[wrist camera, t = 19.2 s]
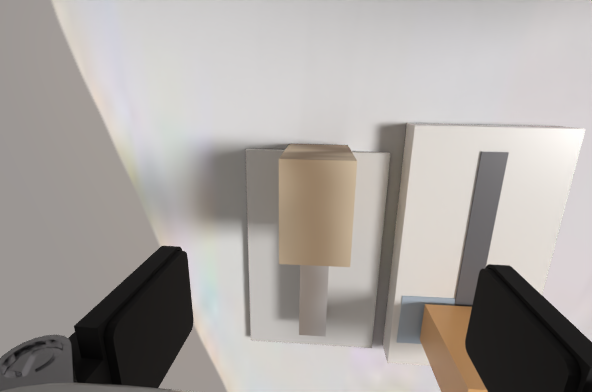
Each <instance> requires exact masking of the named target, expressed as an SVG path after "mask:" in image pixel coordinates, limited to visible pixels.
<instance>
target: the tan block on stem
mask: <svg viewBox="0 0 592 392" xmlns="http://www.w3.org/2000/svg"><path fill="white" fill-rule="evenodd" d="M356 172H357V160H356V158H355V156H354V155H353V153H352V152H351V150H350V148H349V147H348V145H314V144H289V145H288V146H287V148H286V149H285V151H284V152H283V154H282V155H281V156H280V158H279V264H290V265H300V299H299V335H308V336H325V337H326V317H327V295H328V273H329V266H334V267H350V263H351V248H352V233H353V218H354V202H355V187H356Z"/></svg>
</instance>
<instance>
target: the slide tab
mask: <svg viewBox="0 0 592 392" xmlns="http://www.w3.org/2000/svg"><path fill="white" fill-rule="evenodd" d="M471 310H472V307H469V306H450V305H432V304H425V306H424V313H423V320H422V327H421V334H420V342H421V344H422V346H423V349H424V351H425V354H426V356H427V358H428V361H429V363H430V365H431V368H432V370H433V373H434V375H435V377H436V380H437V382H438V385H439V387H440V389H441V392H488V391H487V389H486V387H485V386H484V384H483V382H482V380H481V378H480V376H479V374H478V372H477V371H476V369H475V367H474V365H473V363H472V361H471V359H470V358H469V356H468V354H467V351H466V347H465V339H466V334H467V329H468V324H469V319H470V315H471Z"/></svg>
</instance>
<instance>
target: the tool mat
mask: <svg viewBox="0 0 592 392" xmlns="http://www.w3.org/2000/svg"><path fill="white" fill-rule="evenodd" d="M284 151H285V150H277V149H246V150H245V153H246V188H247V224H248V259H249V294H250V329H251V340H252V341H268V342H284V343H300V344H316V345H332V346H348V347H364V348H372V338H373V328H374V317H375V307H376V297H377V287H378V276H379V266H380V256H381V245H382V235H383V225H384V215H385V204H386V194H387V184H388V174H389V163H390V153H389V152H355V151H351V152H352V153H353V155H354V156H355V158H356V160H357V172H356V187H355V202H354V218H353V233H352V248H351V263H350V267H334V266H329V273H328V295H327V317H326V337H325V336H308V335H299V299H300V265H290V264H279V158H280V156H281V155H282V154H283V152H284Z"/></svg>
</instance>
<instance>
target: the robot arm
mask: <svg viewBox="0 0 592 392" xmlns="http://www.w3.org/2000/svg"><path fill="white" fill-rule="evenodd" d="M192 327H193V311H192V300H191V290H190V279H189V269H188V259H187V253H186V252H185V251H182V249H181V248H180V247H174V246H161V247H160V248H159V249H158V250H157V251H156V252H155V253H153V254H152V255H151V256H150V257H149V258H148V259H147V260H146V261H145V262H144V263H143V264H142V265H140V266H139V267H138V268H137V269H136V270H135V271H134V272H133V273H132V274H131V275H130V276H129V277H127V278H126V279H125V280H124V281H123V282H122V283H121V284H120V285H119V286H117V287H116V288H115V289H114V290H113V291H112V292H111V293H110V294H109V295H108V296H107V297H105V298H104V299H103V300H102V301H101V302H100V303H99V304H98V305H97V306H96V307H94V308H93V309H92V310H91V311H90V312H89V313H88V314H87V315H86V316H85V317H84V318H82V319H81V320H80V321H79V322H78V323H77V324H76V325H75V326H74V328H75V333H73V334H72V335H71V336H70V337H69V338H66V337H65V336H60V335H47V336H42V337H38V338H34V339H32V340H29V341H27V342H24V343H22V344H20V345H18V346H16V347H15V348H13V349H11V350H10V351H8V352H7V353H6V354H4V355H3V356H2V357H1V358H0V392H194V391H182V390H172V389H160V388H158V387H159V385H160V384H161V382H162V381H163V379H164V377H165V375H166V373H167V372H168V370H169V368H170V367H171V365H172V363H173V362H174V360H175V358H176V356H177V355H178V353H179V351H180V349H181V348H182V346H183V344H184V342H185V341H186V339H187V337H188V336H189V334H190V332H191V330H192ZM465 347H466V351H467V354H468V356H469V358H470V359H471V361H472V363H473V365H474V367H475V369H476V371H477V372H478V374H479V376H480V378H481V380H482V382H483V384H484V386H485V387H486V389H487V391H488V392H592V342H591V341H590V340H589V339H588V338H587V337H586V336H584V335H583V334H582V333H581V332H580V331H579V330H578V329H577V328H576V327H575V326H574V325H573V324H572V323H571V322H570V321H569V320H568V319H566V318H565V317H564V316H563V315H562V314H561V313H560V312H559V311H558V310H557V309H556V308H555V307H554V306H553V305H552V304H551V303H550V302H548V301H547V300H546V299H545V298H544V297H543V296H542V295H541V294H540V293H539V292H538V291H537V290H536V289H535V288H534V287H533V286H531V285H530V284H529V283H528V282H527V281H526V280H525V279H524V278H523V277H522V276H521V275H520V274H519V273H518V272H517V271H516V270H515V269H513V268H512V267H511V266H510V265H493V264H489V265H487V266H486V268H485V269H481V270H480V272H479V276H478V281H477V286H476V290H475V295H474V300H473V305H472V310H471V315H470V319H469V324H468V329H467V334H466V339H465Z"/></svg>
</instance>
